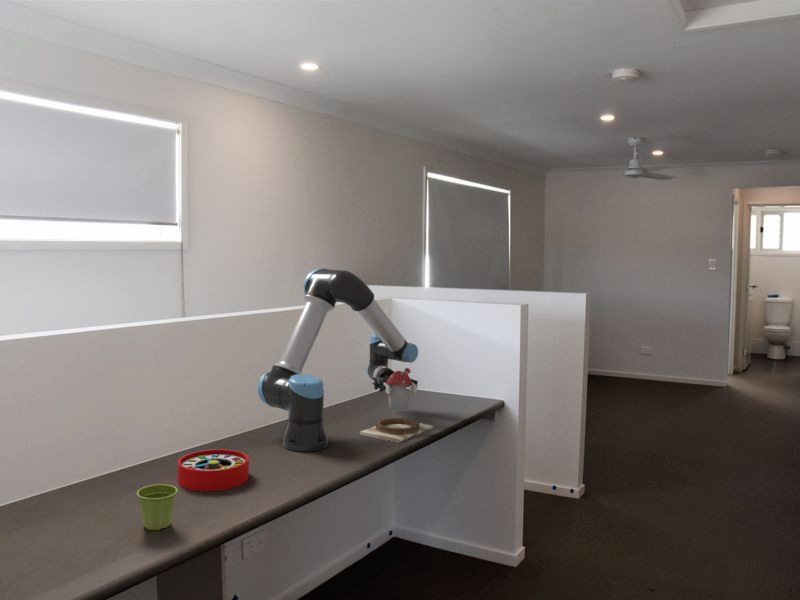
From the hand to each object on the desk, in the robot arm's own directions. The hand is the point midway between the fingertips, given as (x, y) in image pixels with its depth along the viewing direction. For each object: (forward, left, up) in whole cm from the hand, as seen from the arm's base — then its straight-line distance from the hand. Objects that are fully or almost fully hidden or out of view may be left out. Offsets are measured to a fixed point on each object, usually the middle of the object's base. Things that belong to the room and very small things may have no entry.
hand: (402, 389), depth 254 cm
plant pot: (-76, -70, -17) cm, 105 cm away
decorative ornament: (0, +4, -8) cm, 9 cm away
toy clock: (-65, -38, -17) cm, 77 cm away
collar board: (0, +4, -17) cm, 17 cm away
